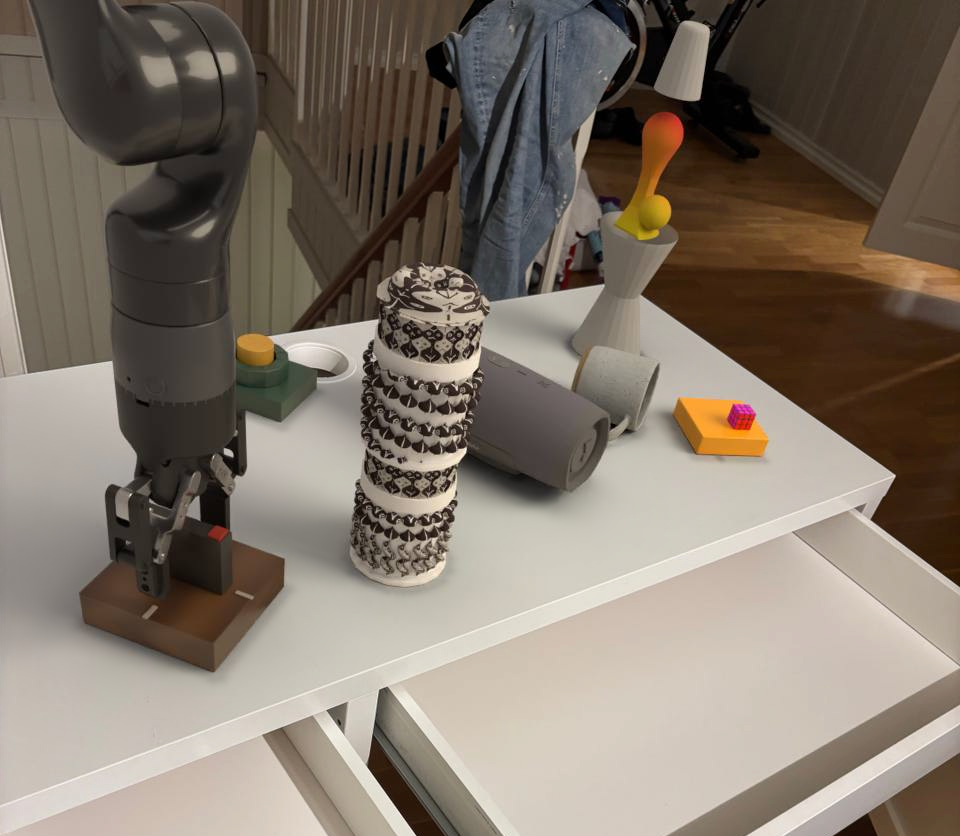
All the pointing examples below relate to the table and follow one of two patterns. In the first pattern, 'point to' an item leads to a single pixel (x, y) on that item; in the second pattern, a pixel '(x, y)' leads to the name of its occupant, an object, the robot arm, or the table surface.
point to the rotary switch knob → (199, 553)
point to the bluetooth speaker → (535, 425)
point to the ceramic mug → (617, 385)
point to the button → (255, 349)
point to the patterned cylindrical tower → (416, 421)
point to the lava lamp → (644, 207)
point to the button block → (273, 385)
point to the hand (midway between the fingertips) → (186, 562)
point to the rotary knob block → (186, 608)
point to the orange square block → (720, 426)
